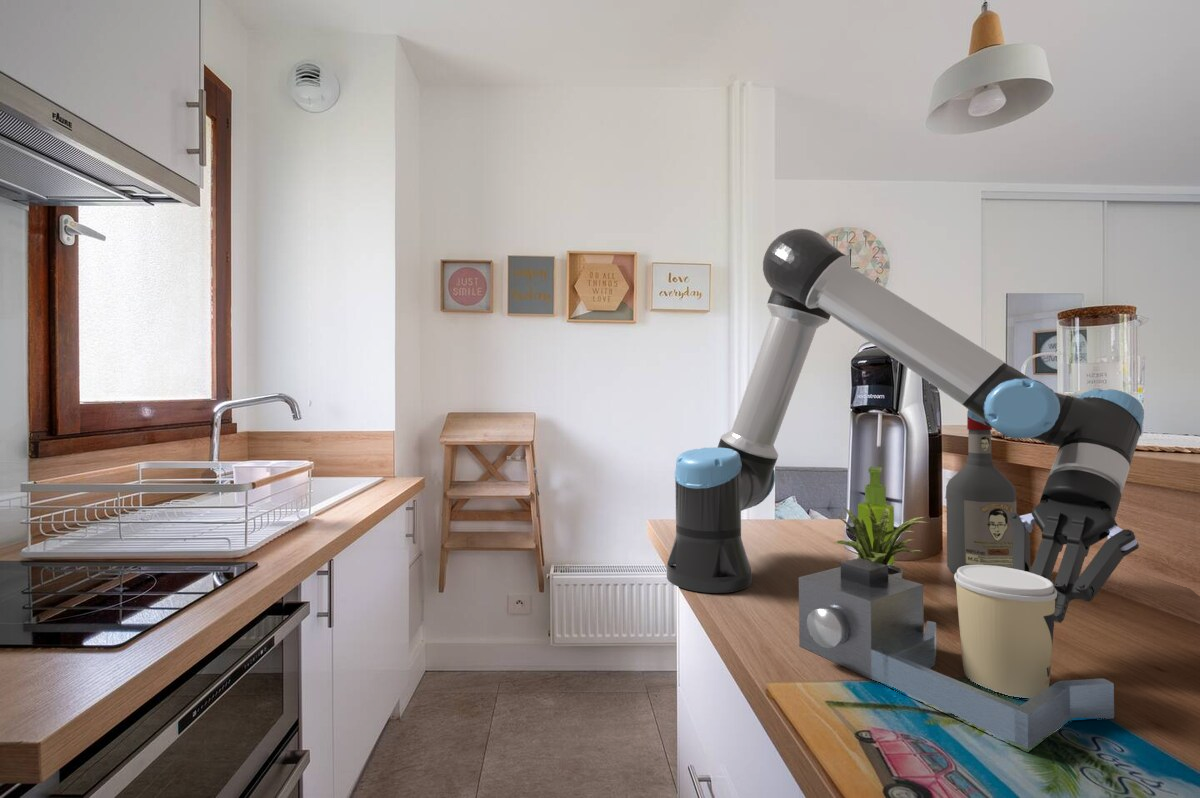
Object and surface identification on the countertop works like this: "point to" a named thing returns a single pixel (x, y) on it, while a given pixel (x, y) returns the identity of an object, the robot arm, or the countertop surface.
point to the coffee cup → (1006, 628)
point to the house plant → (879, 540)
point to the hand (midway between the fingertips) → (1032, 639)
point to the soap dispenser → (875, 506)
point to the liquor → (979, 507)
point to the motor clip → (923, 653)
